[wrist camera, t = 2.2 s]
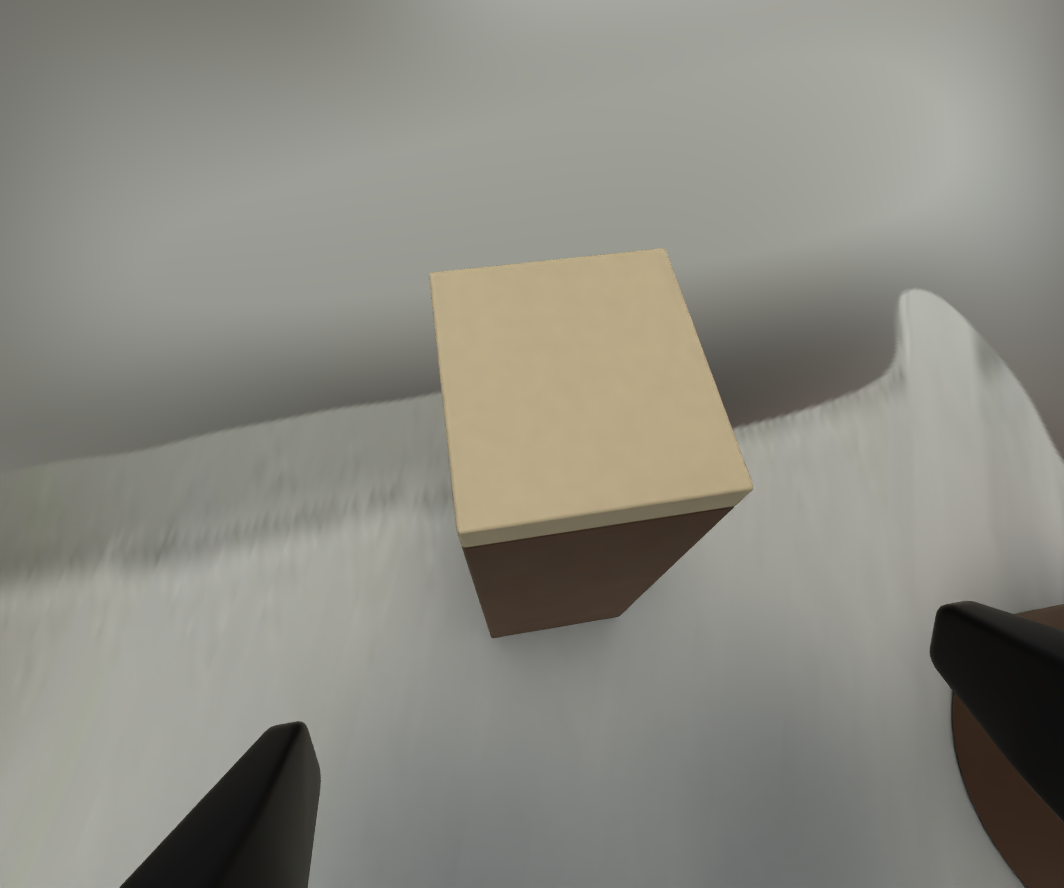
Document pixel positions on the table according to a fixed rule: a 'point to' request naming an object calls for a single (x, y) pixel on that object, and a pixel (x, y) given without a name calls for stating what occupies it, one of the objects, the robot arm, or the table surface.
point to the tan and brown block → (578, 433)
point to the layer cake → (1011, 794)
